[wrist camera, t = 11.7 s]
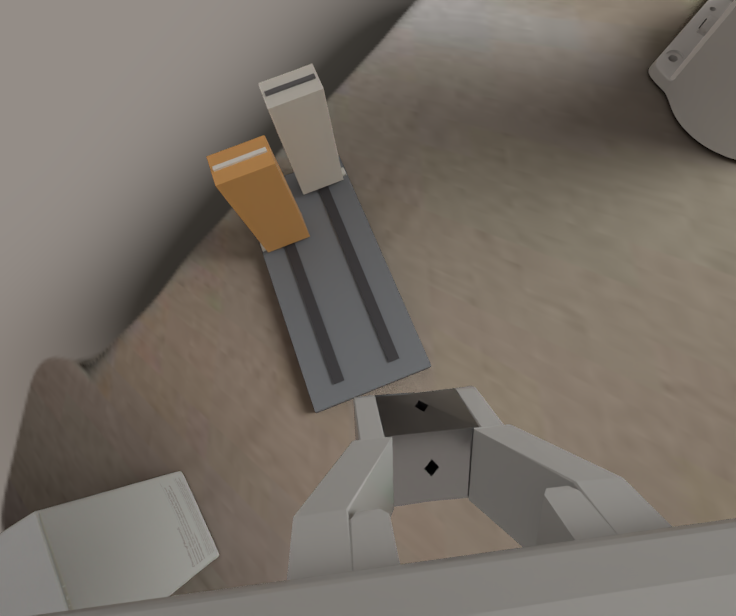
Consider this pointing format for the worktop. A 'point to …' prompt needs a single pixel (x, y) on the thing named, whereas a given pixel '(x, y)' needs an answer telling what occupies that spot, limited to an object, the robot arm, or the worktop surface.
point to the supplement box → (105, 549)
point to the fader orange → (258, 193)
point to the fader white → (304, 126)
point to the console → (342, 300)
